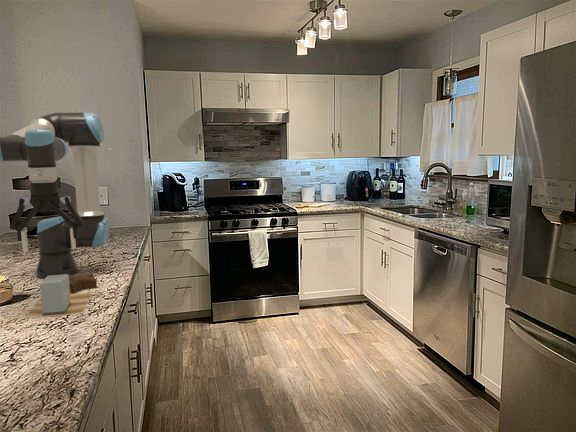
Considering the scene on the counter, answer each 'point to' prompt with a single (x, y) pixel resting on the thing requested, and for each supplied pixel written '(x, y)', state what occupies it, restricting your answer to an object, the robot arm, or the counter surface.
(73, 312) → the board
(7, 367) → the counter surface
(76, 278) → the decorative item
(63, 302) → the grey rectangular block
